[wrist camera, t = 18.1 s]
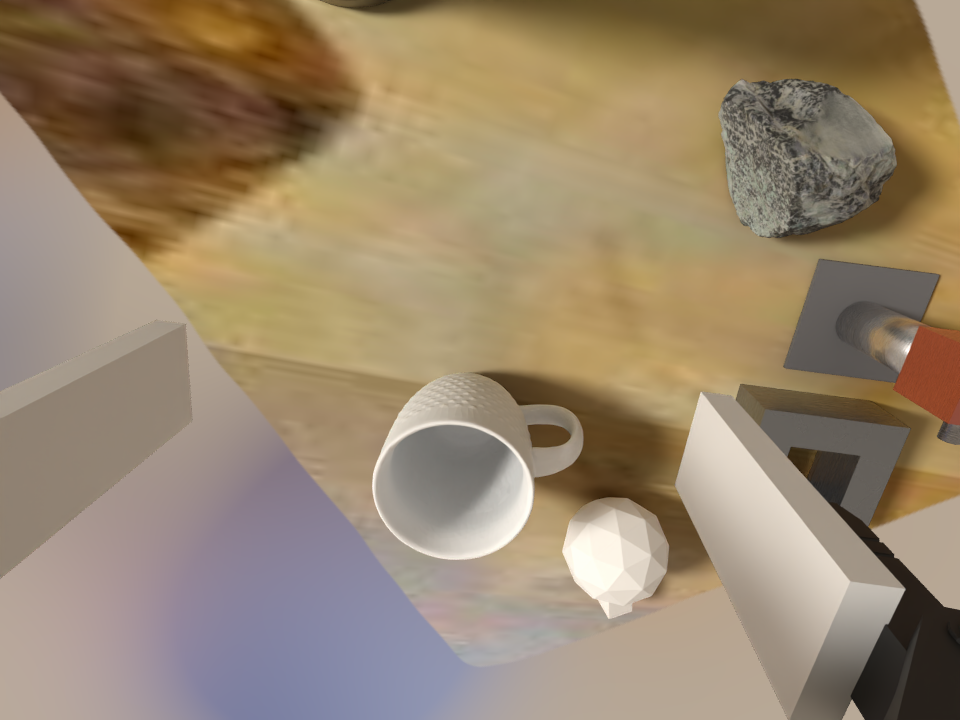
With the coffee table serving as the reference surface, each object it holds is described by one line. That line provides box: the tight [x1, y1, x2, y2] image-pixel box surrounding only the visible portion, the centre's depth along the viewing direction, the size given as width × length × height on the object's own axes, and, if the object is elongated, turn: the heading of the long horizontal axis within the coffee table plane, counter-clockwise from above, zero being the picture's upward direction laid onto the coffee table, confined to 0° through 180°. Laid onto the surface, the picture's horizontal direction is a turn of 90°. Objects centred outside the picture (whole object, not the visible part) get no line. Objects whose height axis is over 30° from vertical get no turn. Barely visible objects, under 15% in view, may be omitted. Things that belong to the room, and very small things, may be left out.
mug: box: [372, 372, 583, 560], centre depth 43 cm, size 15×11×13 cm
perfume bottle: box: [562, 497, 669, 619], centre depth 49 cm, size 9×9×12 cm
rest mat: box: [784, 259, 939, 383], centre depth 44 cm, size 9×9×1 cm
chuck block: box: [736, 384, 911, 526], centre depth 46 cm, size 11×11×5 cm
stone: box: [719, 79, 897, 238], centre depth 38 cm, size 10×10×10 cm
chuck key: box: [835, 301, 960, 445], centre depth 38 cm, size 8×4×14 cm, turn 173°
